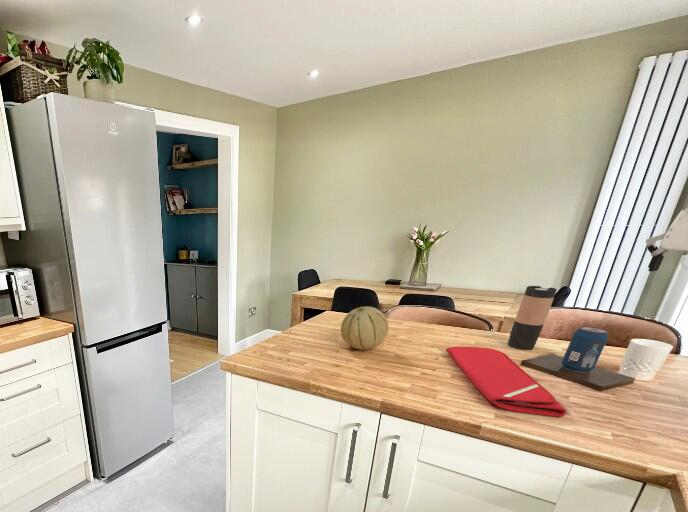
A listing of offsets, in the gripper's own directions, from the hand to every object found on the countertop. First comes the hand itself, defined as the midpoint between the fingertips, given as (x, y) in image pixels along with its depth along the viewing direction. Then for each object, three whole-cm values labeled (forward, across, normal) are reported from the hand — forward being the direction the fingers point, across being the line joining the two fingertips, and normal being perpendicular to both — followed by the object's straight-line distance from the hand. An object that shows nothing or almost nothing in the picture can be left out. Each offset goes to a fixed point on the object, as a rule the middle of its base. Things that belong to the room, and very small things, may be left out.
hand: (677, 273), depth 107 cm
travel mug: (+27, +25, +10) cm, 38 cm away
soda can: (+26, +4, +21) cm, 33 cm away
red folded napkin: (+27, +10, +46) cm, 54 cm away
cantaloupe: (+26, +45, +61) cm, 80 cm away
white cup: (+28, -4, +8) cm, 29 cm away
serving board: (+27, +4, +21) cm, 35 cm away
